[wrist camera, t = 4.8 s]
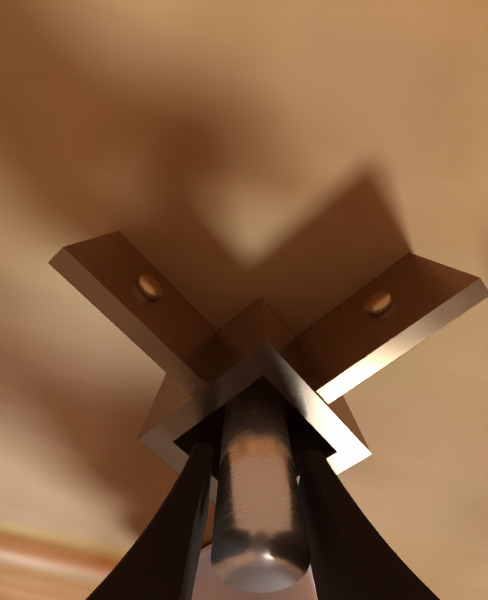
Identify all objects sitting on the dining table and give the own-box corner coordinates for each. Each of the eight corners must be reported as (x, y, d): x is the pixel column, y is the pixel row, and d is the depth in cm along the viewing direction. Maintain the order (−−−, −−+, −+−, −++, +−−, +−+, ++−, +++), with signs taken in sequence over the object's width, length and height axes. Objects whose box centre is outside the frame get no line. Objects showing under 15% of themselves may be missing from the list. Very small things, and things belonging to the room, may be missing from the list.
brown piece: (245, 446, 19) (246, 530, 14) (67, 281, 16) (-9, 318, 11) (448, 308, 16) (532, 355, 11) (282, 69, 13) (304, -4, 8)
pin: (250, 422, 17) (254, 605, 9) (215, 389, 16) (189, 555, 9) (290, 394, 16) (330, 564, 9) (256, 357, 16) (267, 507, 8)
